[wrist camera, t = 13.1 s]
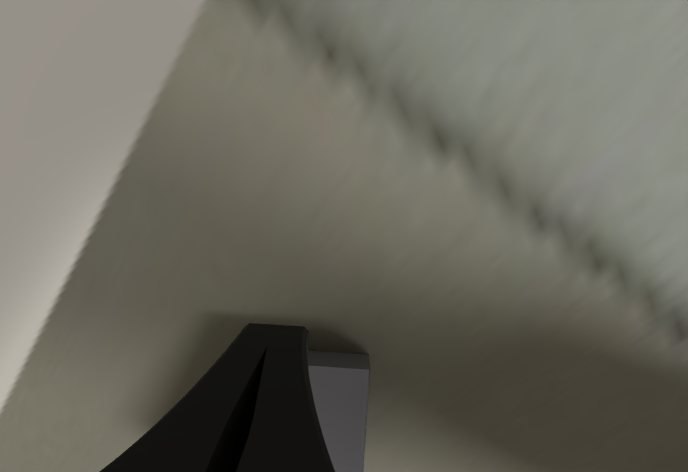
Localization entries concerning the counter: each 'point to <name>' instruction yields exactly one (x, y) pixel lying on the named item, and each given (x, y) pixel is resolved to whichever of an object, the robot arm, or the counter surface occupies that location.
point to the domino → (341, 405)
